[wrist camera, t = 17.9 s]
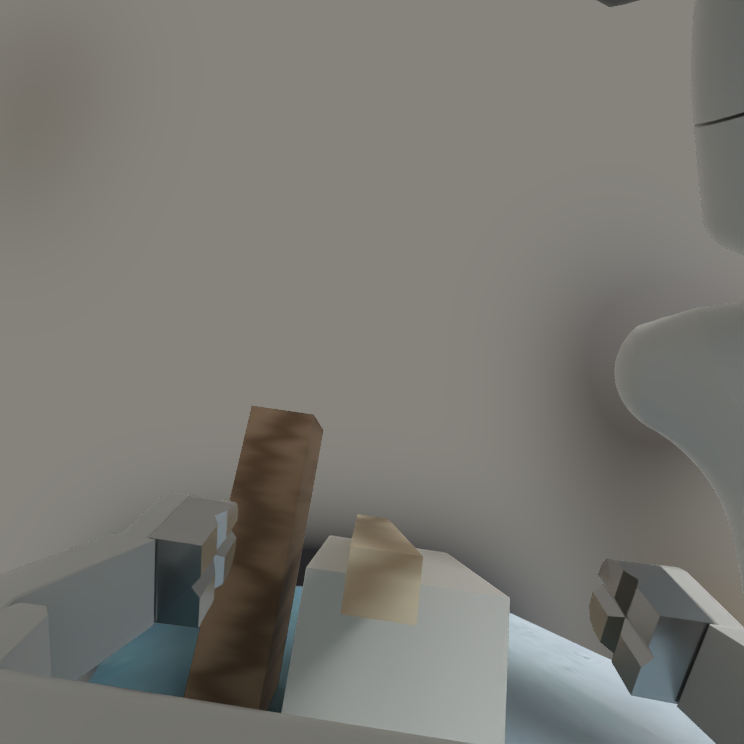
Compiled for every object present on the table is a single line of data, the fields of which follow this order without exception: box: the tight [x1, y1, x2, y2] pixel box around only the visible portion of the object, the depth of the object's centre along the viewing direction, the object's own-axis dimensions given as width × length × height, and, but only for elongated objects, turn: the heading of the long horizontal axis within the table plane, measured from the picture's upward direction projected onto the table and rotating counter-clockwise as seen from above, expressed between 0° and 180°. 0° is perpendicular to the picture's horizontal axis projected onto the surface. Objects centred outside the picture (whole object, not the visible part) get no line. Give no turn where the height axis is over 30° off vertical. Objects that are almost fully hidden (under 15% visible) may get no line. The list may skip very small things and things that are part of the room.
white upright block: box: [281, 536, 510, 744], centre depth 30 cm, size 12×18×15 cm, turn 2°
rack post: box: [184, 406, 323, 711], centre depth 39 cm, size 6×10×26 cm, turn 2°
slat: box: [341, 515, 423, 626], centre depth 27 cm, size 3×24×2 cm, turn 1°
